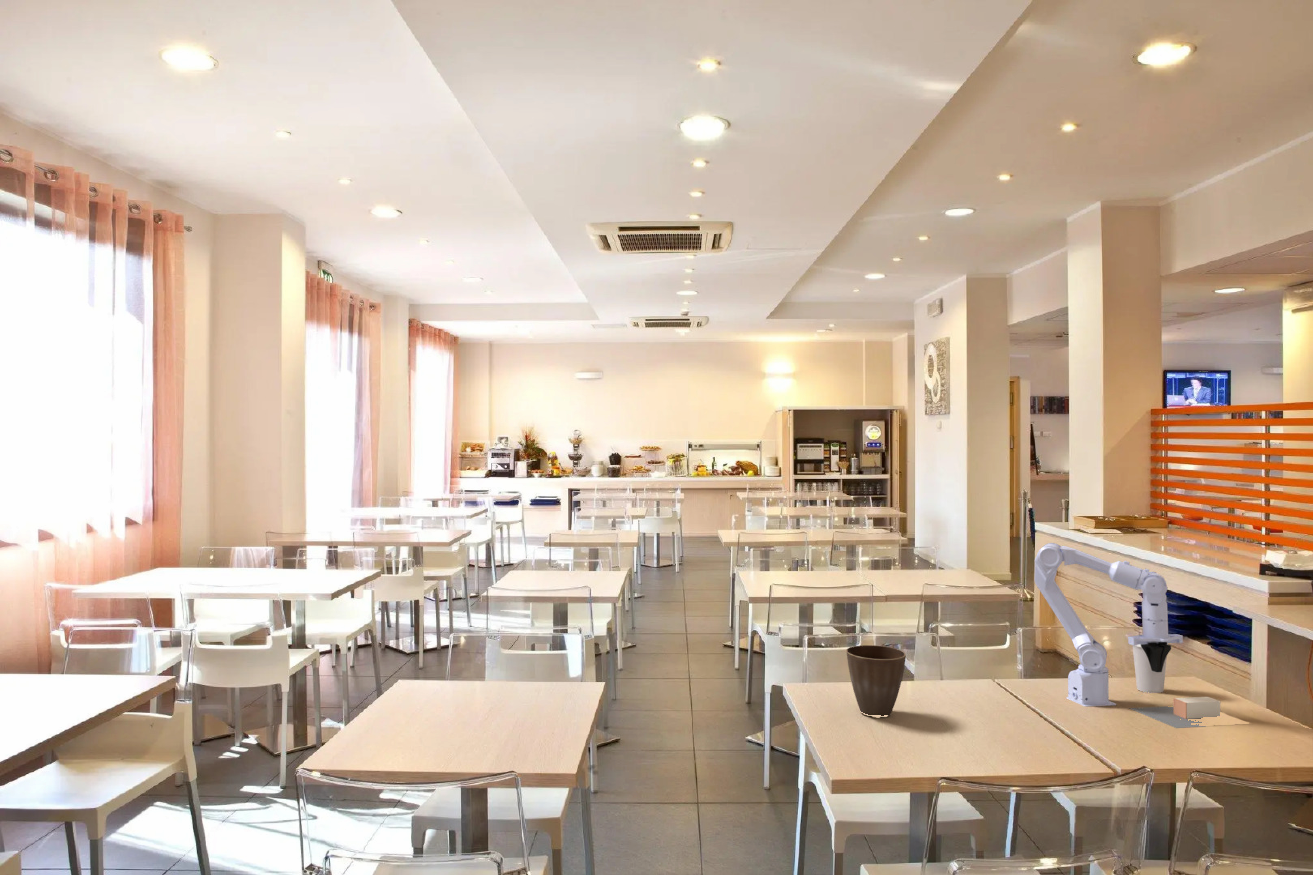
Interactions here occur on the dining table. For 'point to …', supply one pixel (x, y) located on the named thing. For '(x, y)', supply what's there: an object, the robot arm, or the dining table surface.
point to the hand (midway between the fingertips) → (1156, 671)
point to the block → (1196, 707)
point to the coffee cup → (1147, 673)
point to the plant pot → (876, 677)
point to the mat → (1167, 716)
